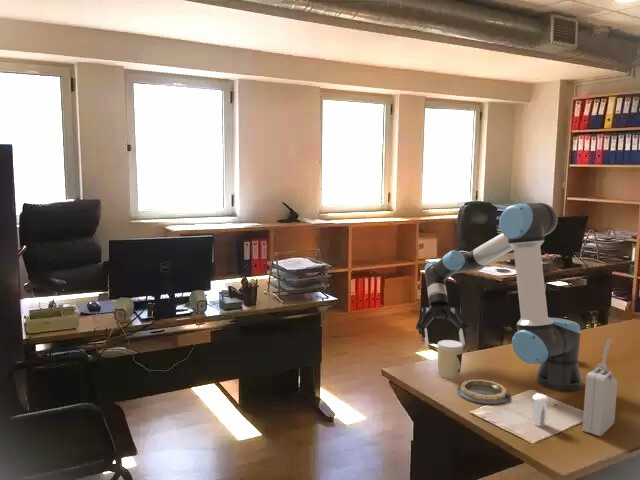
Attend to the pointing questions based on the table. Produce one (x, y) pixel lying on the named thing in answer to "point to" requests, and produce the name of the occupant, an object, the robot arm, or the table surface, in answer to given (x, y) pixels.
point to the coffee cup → (449, 358)
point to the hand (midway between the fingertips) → (445, 345)
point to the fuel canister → (600, 398)
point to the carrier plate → (483, 392)
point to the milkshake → (540, 409)
